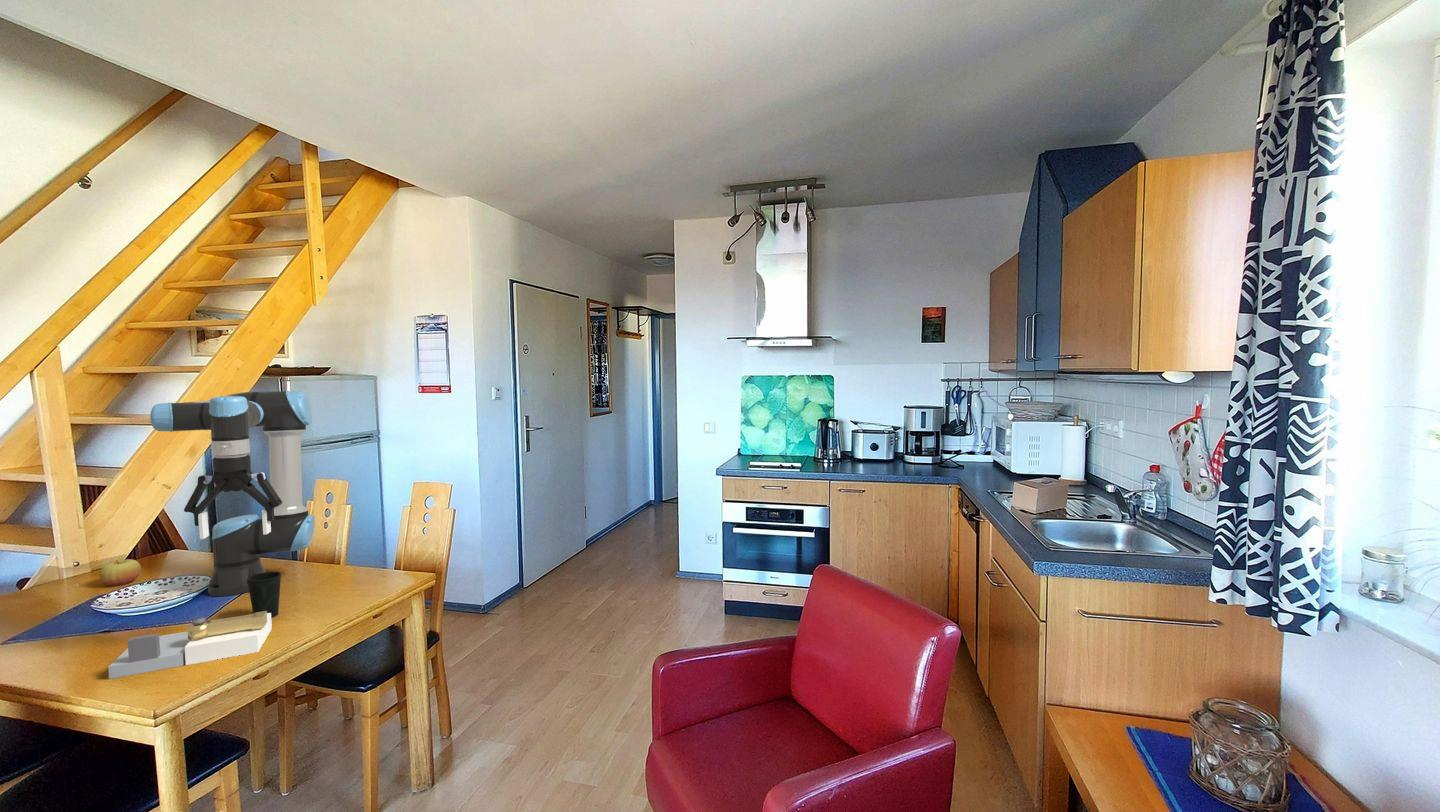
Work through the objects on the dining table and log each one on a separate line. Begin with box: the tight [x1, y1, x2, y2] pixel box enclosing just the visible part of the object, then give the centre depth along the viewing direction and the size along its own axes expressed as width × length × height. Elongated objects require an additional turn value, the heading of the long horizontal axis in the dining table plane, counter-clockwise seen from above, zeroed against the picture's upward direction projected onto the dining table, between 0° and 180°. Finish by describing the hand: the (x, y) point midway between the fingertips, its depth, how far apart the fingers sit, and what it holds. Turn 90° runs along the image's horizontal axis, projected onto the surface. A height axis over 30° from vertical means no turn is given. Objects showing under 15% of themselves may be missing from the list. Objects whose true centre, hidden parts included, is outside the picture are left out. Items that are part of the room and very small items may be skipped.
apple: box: [98, 558, 142, 587], centre depth 191 cm, size 10×10×8 cm
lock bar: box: [186, 611, 267, 640], centre depth 146 cm, size 4×15×3 cm, turn 118°
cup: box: [247, 571, 282, 619], centre depth 166 cm, size 8×8×12 cm
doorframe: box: [107, 613, 273, 680], centre depth 145 cm, size 15×28×9 cm, turn 118°
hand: (236, 535), depth 150 cm, fingers open, 13 cm apart
